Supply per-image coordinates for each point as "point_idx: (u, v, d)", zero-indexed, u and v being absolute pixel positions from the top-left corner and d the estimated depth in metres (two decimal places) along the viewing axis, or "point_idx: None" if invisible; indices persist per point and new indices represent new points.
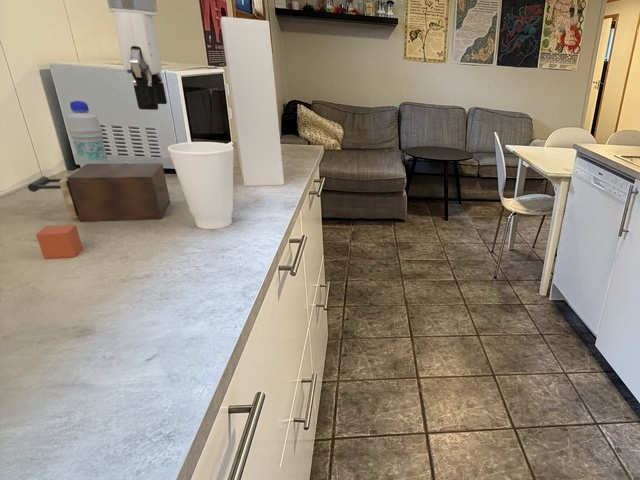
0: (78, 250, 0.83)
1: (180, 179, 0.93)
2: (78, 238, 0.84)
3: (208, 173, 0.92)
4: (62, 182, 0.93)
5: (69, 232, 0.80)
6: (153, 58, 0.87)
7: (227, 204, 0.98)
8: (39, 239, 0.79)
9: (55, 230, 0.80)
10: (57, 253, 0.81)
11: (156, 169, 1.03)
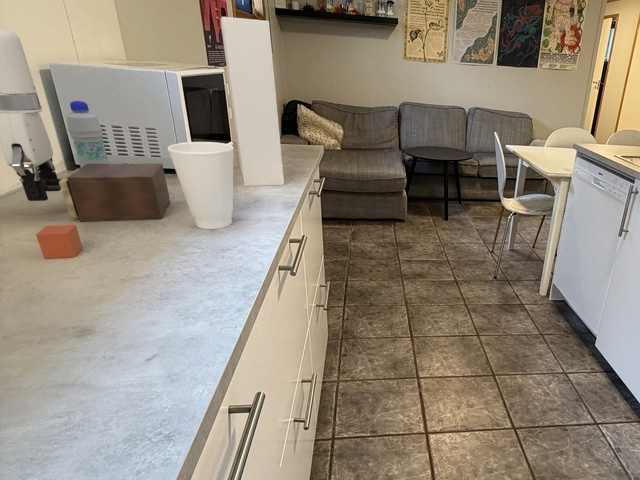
0: (78, 250, 0.83)
1: (180, 179, 0.93)
2: (78, 238, 0.84)
3: (208, 173, 0.92)
4: (62, 182, 0.93)
5: (69, 232, 0.80)
6: (36, 151, 0.91)
7: (227, 204, 0.98)
8: (39, 239, 0.79)
9: (55, 230, 0.80)
10: (57, 253, 0.81)
11: (156, 169, 1.03)
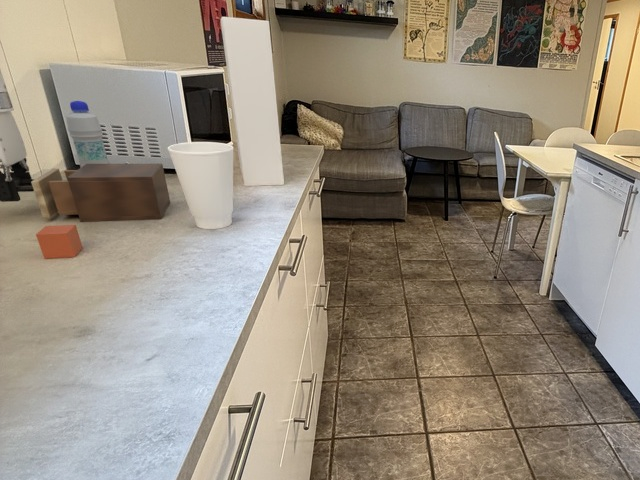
0: (78, 250, 0.83)
1: (180, 179, 0.93)
2: (78, 238, 0.84)
3: (208, 173, 0.92)
4: (34, 182, 0.92)
5: (69, 232, 0.80)
6: (7, 151, 0.90)
7: (227, 204, 0.98)
8: (39, 239, 0.79)
9: (55, 230, 0.80)
10: (57, 253, 0.81)
11: (156, 169, 1.03)
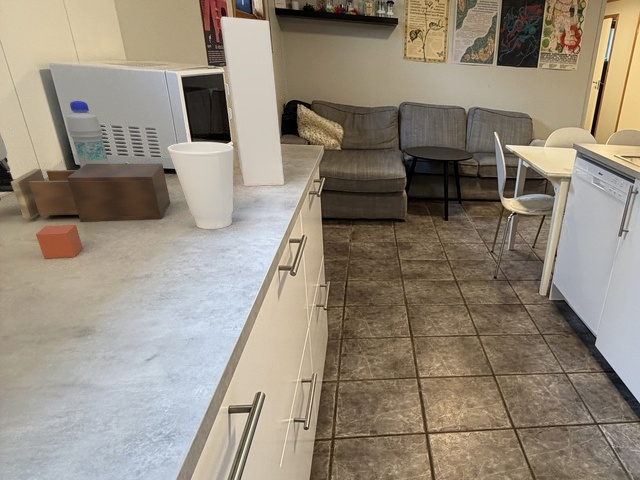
0: (78, 250, 0.83)
1: (180, 179, 0.93)
2: (78, 238, 0.84)
3: (208, 173, 0.92)
4: (14, 183, 0.91)
5: (69, 232, 0.80)
6: None
7: (227, 204, 0.98)
8: (39, 239, 0.79)
9: (55, 230, 0.80)
10: (57, 253, 0.81)
11: (156, 169, 1.03)
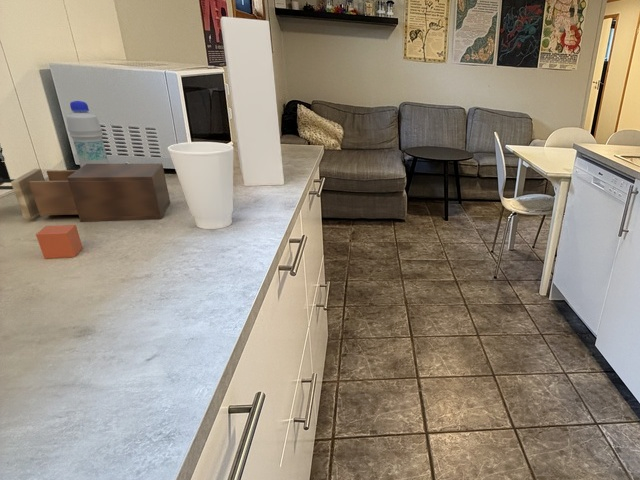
0: (78, 250, 0.83)
1: (180, 179, 0.93)
2: (78, 238, 0.84)
3: (208, 173, 0.92)
4: (14, 183, 0.91)
5: (69, 232, 0.80)
6: None
7: (227, 204, 0.98)
8: (39, 239, 0.79)
9: (55, 230, 0.80)
10: (57, 253, 0.81)
11: (156, 169, 1.03)
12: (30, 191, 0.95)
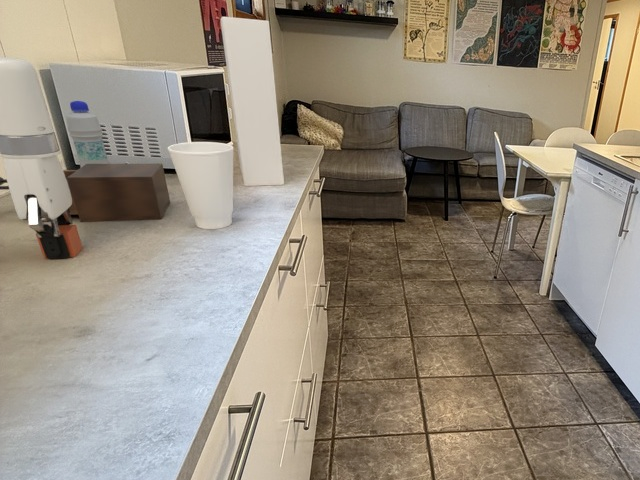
0: (78, 250, 0.83)
1: (180, 179, 0.93)
2: (78, 238, 0.84)
3: (208, 173, 0.92)
4: None
5: (69, 232, 0.80)
6: (54, 202, 0.76)
7: (227, 204, 0.98)
8: (39, 239, 0.79)
9: None
10: None
11: (156, 169, 1.03)
12: None
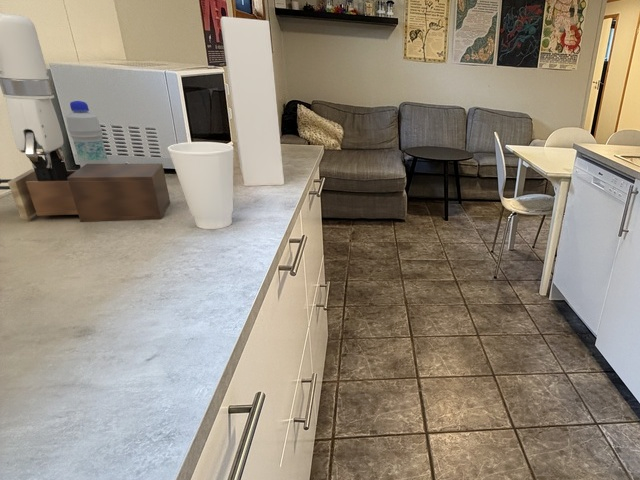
0: None
1: (180, 179, 0.93)
2: None
3: (208, 173, 0.92)
4: (11, 183, 0.90)
5: None
6: (48, 138, 0.91)
7: (227, 204, 0.98)
8: None
9: None
10: None
11: (156, 169, 1.03)
12: (27, 191, 0.95)
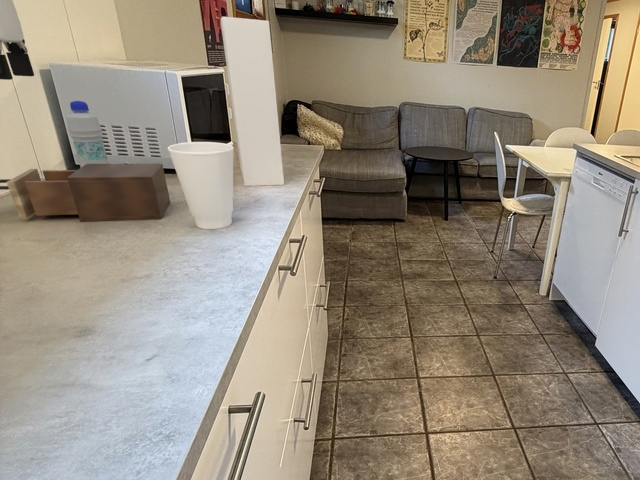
0: None
1: (180, 179, 0.93)
2: None
3: (208, 173, 0.92)
4: (10, 183, 0.90)
5: None
6: (2, 24, 0.82)
7: (227, 204, 0.98)
8: None
9: None
10: None
11: (156, 169, 1.03)
12: (26, 191, 0.95)
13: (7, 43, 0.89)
